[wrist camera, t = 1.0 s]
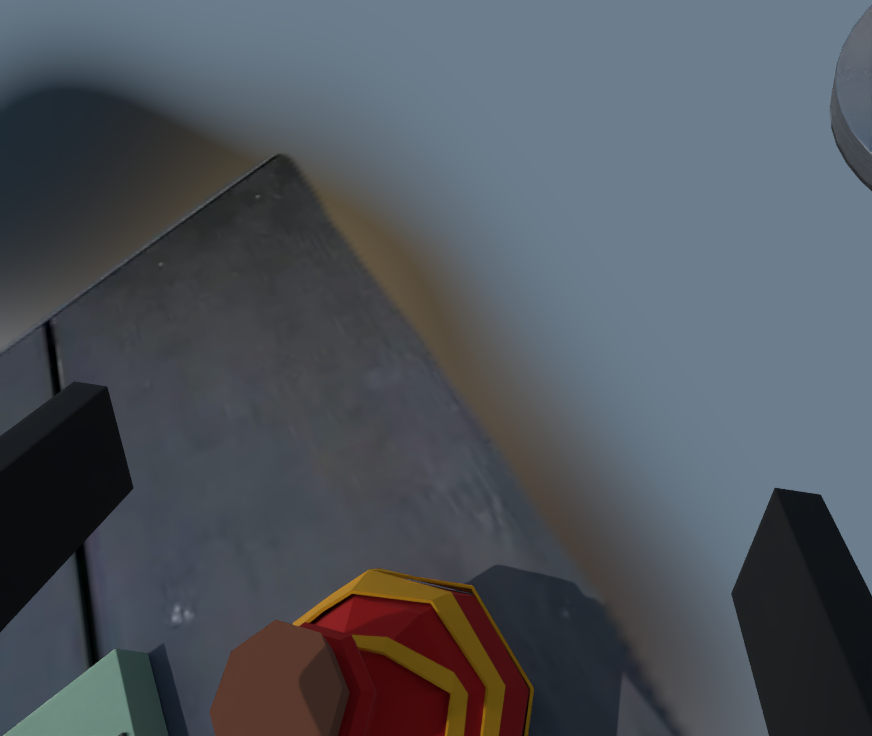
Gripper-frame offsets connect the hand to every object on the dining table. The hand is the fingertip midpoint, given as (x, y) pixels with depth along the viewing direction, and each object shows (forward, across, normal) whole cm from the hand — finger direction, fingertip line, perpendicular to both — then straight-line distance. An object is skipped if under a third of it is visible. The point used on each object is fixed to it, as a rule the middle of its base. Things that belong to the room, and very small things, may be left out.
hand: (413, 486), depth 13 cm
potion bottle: (+8, +1, -20) cm, 22 cm away
